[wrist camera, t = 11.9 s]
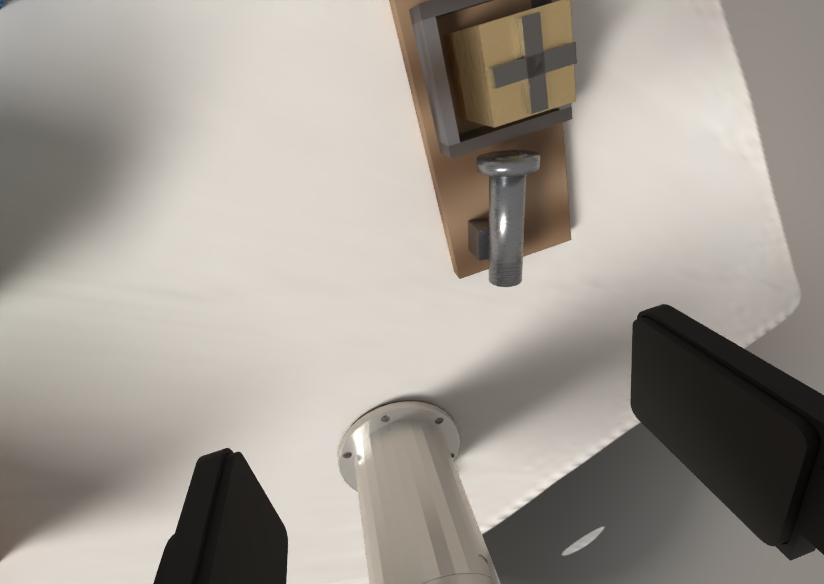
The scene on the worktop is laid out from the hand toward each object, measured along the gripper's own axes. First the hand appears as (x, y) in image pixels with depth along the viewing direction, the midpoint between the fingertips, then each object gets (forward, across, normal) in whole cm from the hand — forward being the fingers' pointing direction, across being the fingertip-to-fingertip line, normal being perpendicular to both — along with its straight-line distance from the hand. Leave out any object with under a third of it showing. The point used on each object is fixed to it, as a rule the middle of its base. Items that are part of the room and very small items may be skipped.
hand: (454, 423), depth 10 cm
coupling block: (+22, -11, -6) cm, 26 cm away
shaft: (+24, -10, +3) cm, 26 cm away
